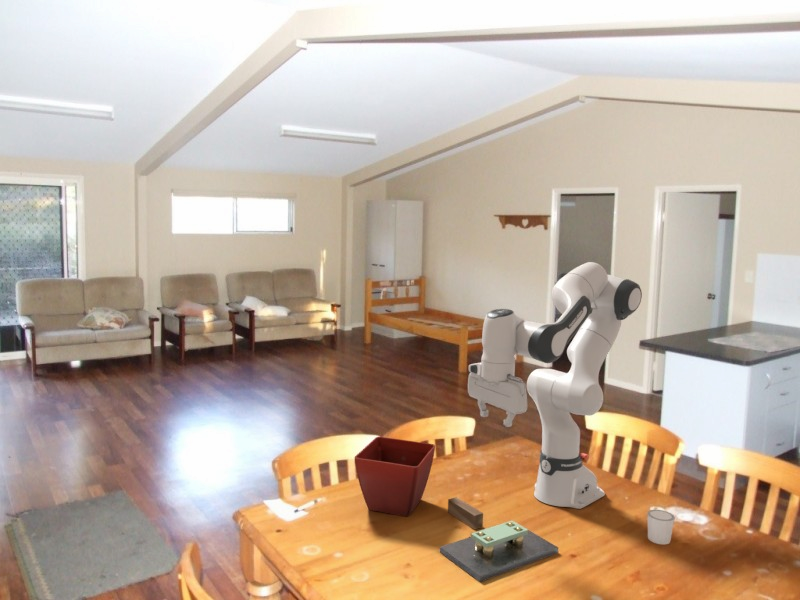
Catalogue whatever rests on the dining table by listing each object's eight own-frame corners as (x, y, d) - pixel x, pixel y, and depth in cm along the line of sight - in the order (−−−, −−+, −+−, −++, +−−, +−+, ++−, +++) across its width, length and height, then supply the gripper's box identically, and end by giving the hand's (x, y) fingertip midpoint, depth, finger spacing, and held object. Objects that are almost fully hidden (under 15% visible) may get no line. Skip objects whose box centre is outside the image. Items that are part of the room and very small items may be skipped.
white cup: (672, 535, 182) (674, 511, 181) (673, 547, 175) (675, 522, 174) (645, 531, 184) (647, 507, 183) (645, 542, 177) (647, 518, 177)
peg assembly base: (515, 527, 185) (516, 506, 184) (558, 552, 171) (559, 530, 170) (439, 552, 170) (440, 529, 170) (479, 582, 157) (480, 557, 156)
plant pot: (416, 524, 185) (417, 466, 183) (352, 513, 191) (353, 457, 189) (434, 497, 203) (436, 444, 201) (376, 487, 209) (377, 436, 207)
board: (486, 548, 164) (486, 543, 164) (470, 537, 169) (470, 533, 169) (527, 534, 172) (528, 529, 171) (512, 524, 177) (512, 520, 176)
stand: (456, 510, 195) (456, 497, 194) (482, 526, 185) (483, 513, 184) (447, 512, 193) (448, 499, 192) (474, 529, 183) (474, 515, 182)
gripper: (534, 377, 169) (531, 430, 171) (482, 361, 186) (480, 409, 188) (515, 381, 166) (513, 434, 168) (464, 364, 183) (462, 413, 185)
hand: (495, 421), depth 178 cm, fingers open, 8 cm apart
